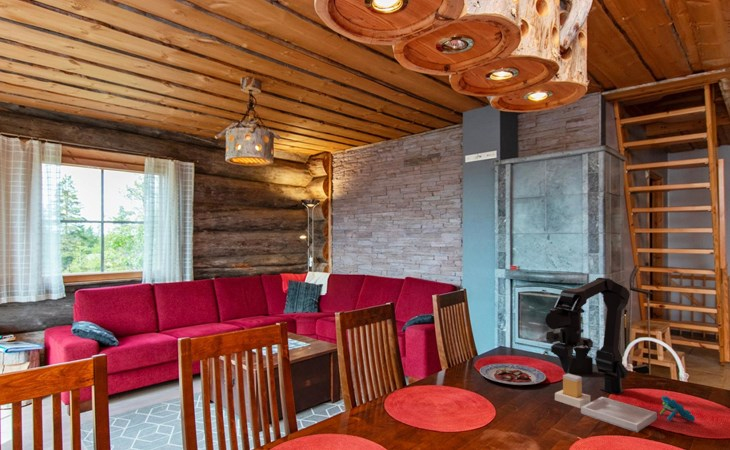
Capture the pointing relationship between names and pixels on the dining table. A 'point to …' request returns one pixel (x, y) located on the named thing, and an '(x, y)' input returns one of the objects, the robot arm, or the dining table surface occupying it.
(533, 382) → the ceramic plate
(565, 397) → the white shallow boxy piece
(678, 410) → the blue toy water gun
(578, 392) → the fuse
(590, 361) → the digital camera
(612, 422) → the parts tray
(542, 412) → the dining table surface
